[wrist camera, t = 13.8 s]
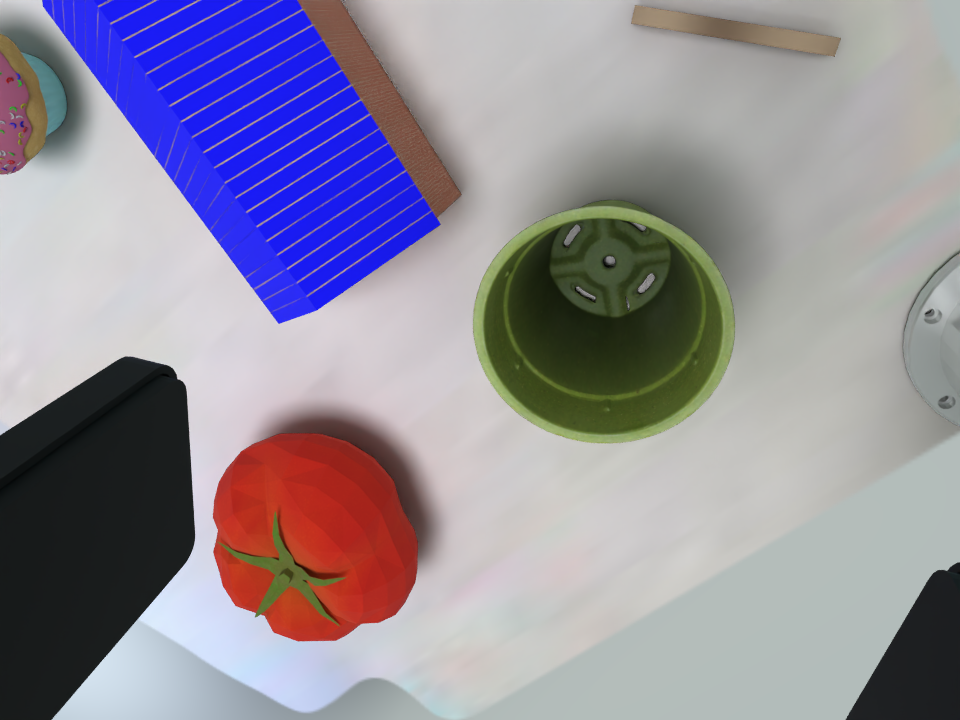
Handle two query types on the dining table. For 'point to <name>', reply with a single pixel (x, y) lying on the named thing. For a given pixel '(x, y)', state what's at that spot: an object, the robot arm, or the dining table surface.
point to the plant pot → (603, 324)
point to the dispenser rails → (736, 30)
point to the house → (270, 133)
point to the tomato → (313, 537)
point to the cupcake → (26, 106)
